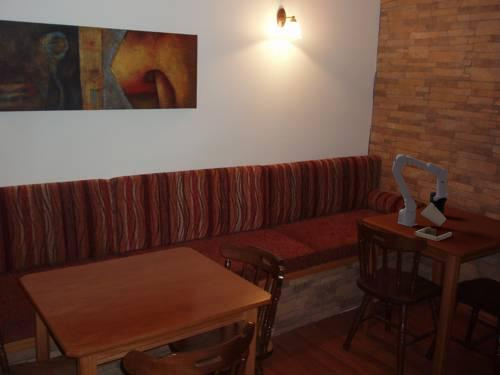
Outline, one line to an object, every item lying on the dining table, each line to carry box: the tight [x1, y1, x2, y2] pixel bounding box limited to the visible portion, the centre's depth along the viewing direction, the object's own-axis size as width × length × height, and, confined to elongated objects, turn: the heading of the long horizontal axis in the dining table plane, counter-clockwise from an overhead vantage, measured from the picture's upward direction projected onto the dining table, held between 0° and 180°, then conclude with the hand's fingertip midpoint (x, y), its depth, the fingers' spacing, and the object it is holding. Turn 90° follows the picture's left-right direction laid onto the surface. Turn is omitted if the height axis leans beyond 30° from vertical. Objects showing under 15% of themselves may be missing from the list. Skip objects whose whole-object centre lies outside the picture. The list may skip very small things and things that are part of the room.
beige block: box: [424, 226, 437, 237], centre depth 292 cm, size 4×4×4 cm
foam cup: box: [420, 202, 447, 227], centre depth 311 cm, size 10×9×13 cm
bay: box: [413, 226, 453, 242], centre depth 294 cm, size 14×16×2 cm
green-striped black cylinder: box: [429, 191, 447, 216], centre depth 336 cm, size 10×10×15 cm
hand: (440, 210), depth 310 cm, fingers closed, pressing on foam cup
